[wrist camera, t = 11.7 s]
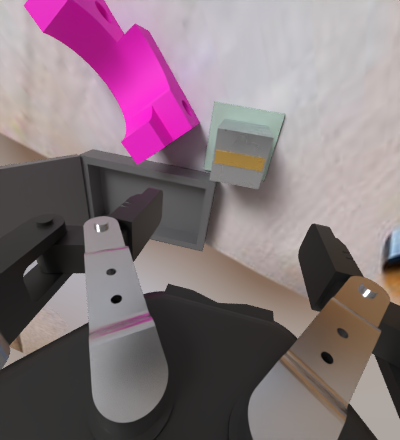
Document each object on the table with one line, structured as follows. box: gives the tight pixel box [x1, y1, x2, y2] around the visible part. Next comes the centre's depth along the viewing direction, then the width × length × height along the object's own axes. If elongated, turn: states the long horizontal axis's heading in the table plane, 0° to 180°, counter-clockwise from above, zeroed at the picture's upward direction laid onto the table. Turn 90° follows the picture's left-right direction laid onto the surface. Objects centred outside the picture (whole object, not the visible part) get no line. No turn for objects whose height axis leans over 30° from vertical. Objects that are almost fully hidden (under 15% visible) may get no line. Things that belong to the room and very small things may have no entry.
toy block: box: [24, 0, 200, 165], centre depth 23 cm, size 15×6×8 cm, turn 32°
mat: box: [204, 102, 285, 182], centre depth 27 cm, size 8×8×1 cm
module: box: [209, 119, 274, 189], centre depth 24 cm, size 5×5×7 cm
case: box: [0, 150, 217, 251], centre depth 27 cm, size 24×11×16 cm, turn 82°
